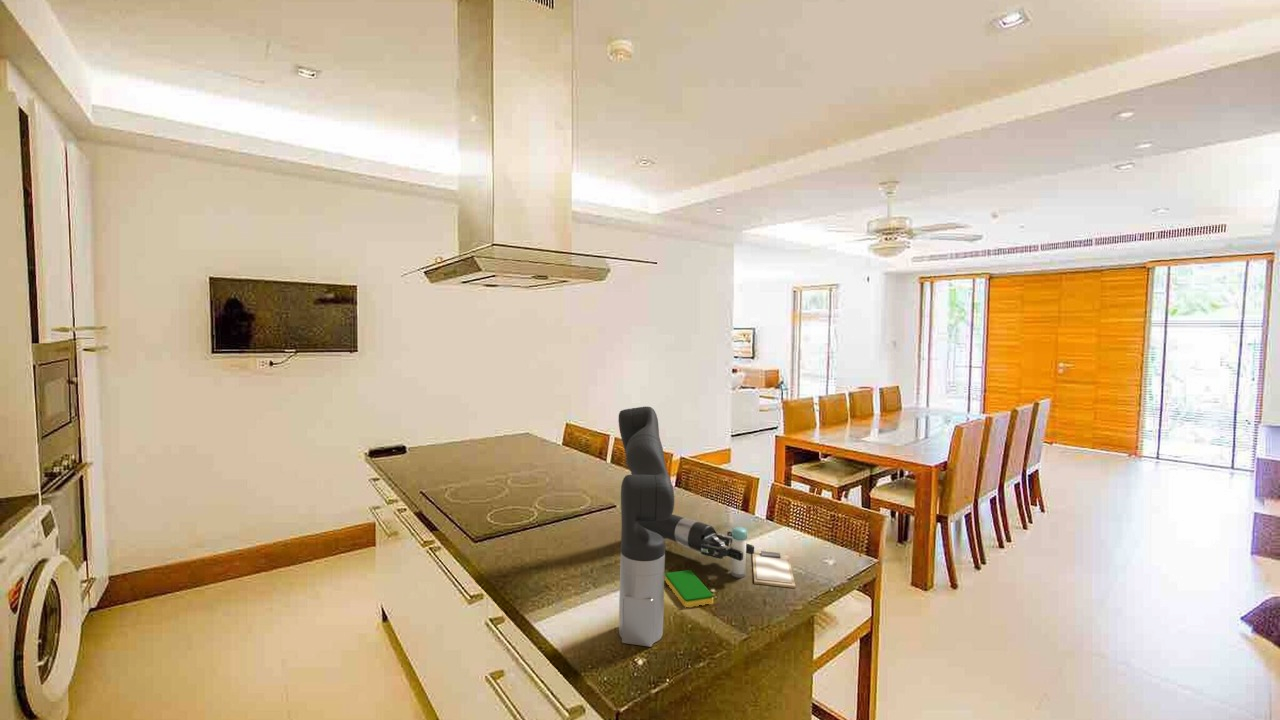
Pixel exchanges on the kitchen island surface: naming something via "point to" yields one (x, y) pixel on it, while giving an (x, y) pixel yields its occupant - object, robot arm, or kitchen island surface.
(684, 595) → the dish sponge
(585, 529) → the kitchen island surface
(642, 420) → the robot arm
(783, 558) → the clipboard
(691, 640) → the kitchen island surface
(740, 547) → the bottle
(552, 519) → the kitchen island surface
